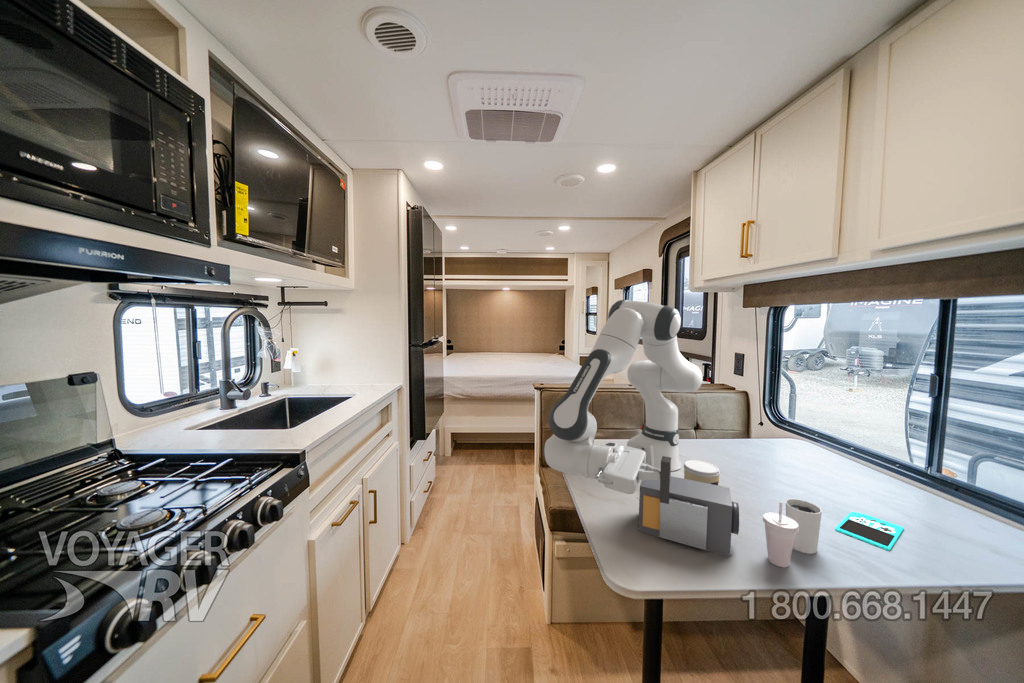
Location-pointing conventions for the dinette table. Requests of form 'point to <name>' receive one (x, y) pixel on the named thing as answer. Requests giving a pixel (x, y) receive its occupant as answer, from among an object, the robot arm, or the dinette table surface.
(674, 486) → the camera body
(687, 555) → the dinette table surface
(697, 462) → the coffee cup
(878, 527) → the handheld game console
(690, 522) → the side door
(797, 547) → the white cylindrical cup
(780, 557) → the smoothie
